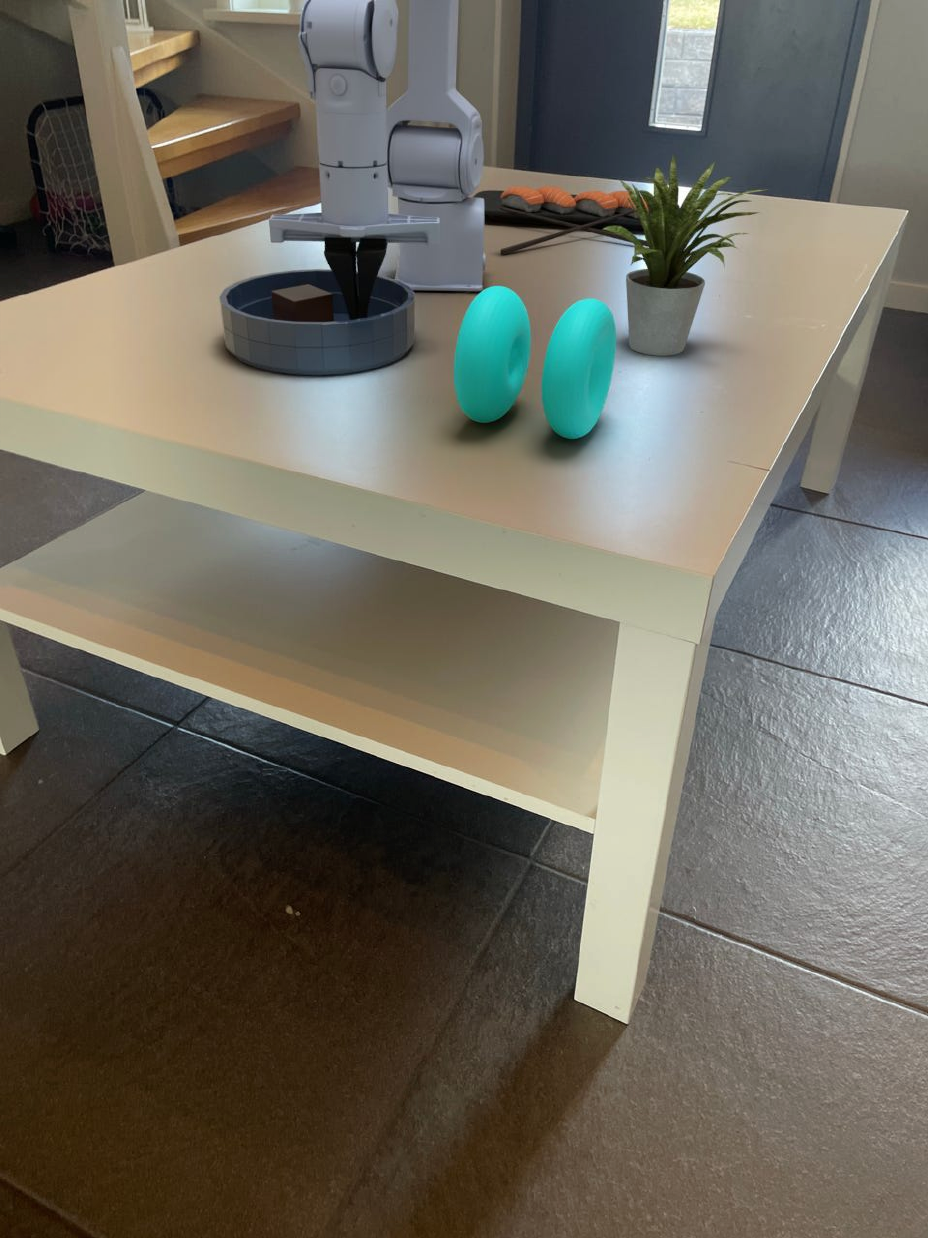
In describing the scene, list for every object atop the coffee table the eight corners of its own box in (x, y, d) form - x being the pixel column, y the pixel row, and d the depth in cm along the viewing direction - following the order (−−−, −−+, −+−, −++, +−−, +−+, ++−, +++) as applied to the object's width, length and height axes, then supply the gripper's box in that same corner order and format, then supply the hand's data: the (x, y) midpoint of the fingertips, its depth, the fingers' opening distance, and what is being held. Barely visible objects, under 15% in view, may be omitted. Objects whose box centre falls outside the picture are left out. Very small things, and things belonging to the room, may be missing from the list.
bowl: (416, 317, 97) (416, 270, 95) (412, 378, 83) (412, 325, 81) (242, 314, 97) (238, 267, 94) (208, 375, 83) (202, 322, 80)
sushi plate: (678, 214, 140) (681, 186, 138) (679, 266, 116) (684, 233, 114) (478, 202, 144) (479, 174, 142) (439, 250, 120) (439, 217, 118)
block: (311, 327, 92) (308, 283, 90) (335, 338, 90) (332, 293, 87) (274, 335, 90) (270, 290, 88) (297, 346, 87) (294, 301, 85)
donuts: (494, 394, 80) (499, 269, 75) (612, 414, 77) (626, 286, 72) (446, 438, 73) (448, 302, 67) (574, 462, 70) (588, 323, 64)
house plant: (700, 389, 82) (734, 181, 73) (554, 357, 88) (570, 160, 79) (754, 345, 93) (790, 156, 83) (620, 318, 98) (640, 139, 89)
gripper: (258, 168, 78) (272, 337, 85) (440, 172, 78) (438, 340, 86) (270, 154, 84) (283, 313, 91) (440, 158, 84) (438, 316, 92)
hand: (359, 325), depth 89 cm, fingers closed
